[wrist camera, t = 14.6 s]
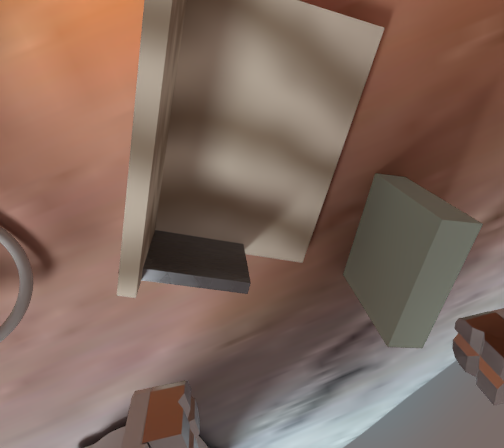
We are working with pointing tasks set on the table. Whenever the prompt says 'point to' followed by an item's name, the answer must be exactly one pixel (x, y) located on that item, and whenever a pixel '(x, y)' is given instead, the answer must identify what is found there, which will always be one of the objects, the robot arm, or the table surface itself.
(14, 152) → the table surface
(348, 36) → the shelf
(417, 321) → the grey flat block
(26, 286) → the wire frame
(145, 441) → the robot arm
